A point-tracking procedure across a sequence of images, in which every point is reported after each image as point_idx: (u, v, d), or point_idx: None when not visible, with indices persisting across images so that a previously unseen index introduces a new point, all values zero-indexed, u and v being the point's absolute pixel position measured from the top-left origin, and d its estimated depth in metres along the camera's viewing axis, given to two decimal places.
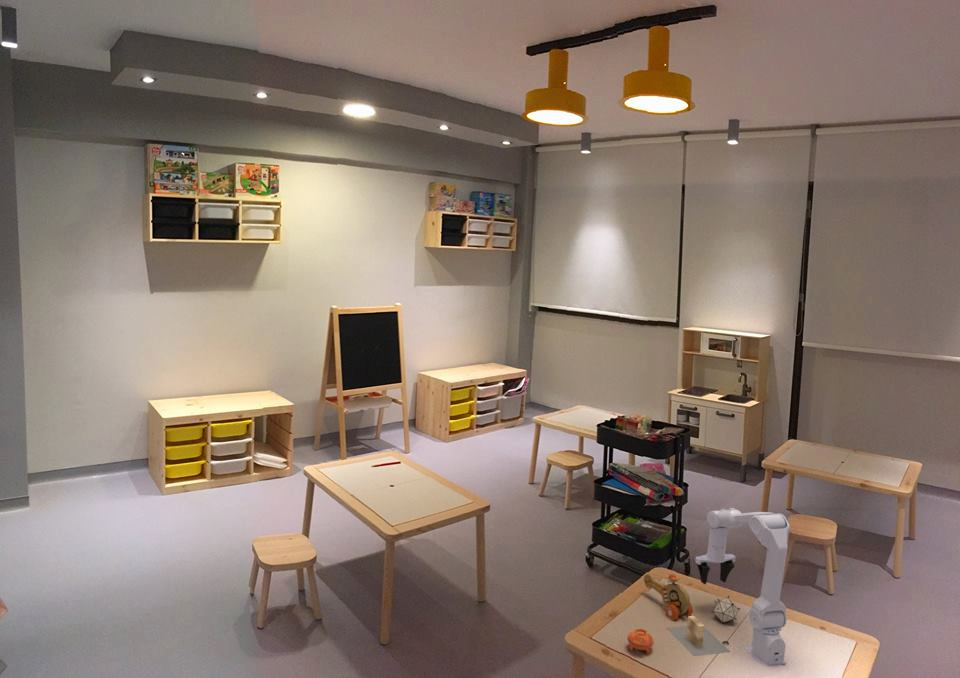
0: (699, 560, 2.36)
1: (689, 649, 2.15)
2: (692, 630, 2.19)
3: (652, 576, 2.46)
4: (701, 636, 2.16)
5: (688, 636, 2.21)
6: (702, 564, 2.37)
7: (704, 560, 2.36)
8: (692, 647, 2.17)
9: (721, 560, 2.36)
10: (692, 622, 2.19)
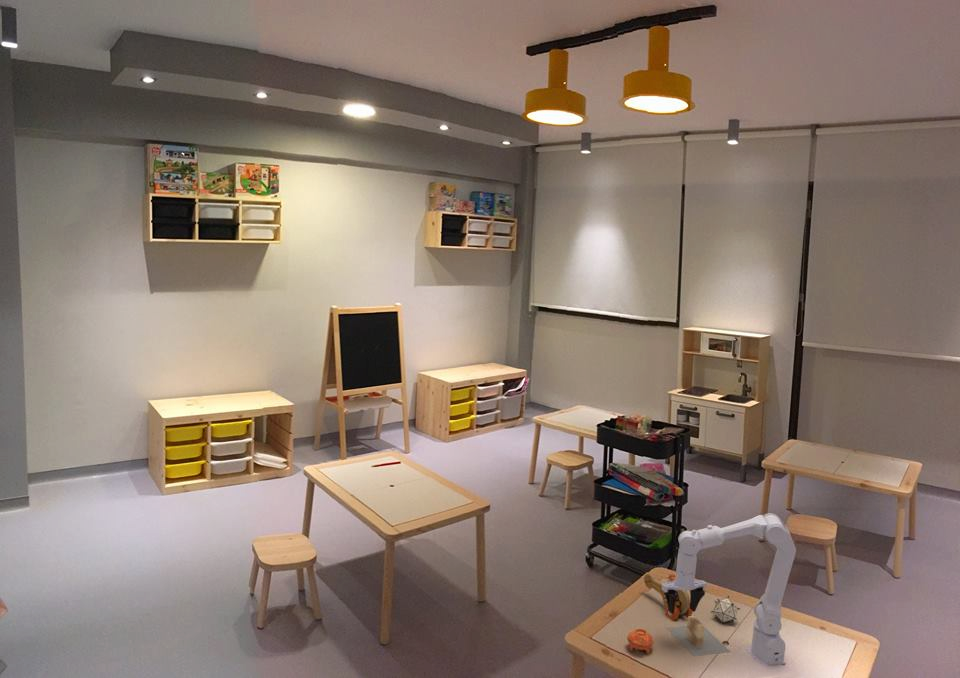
0: (666, 587, 2.15)
1: (689, 649, 2.15)
2: (692, 630, 2.19)
3: (652, 576, 2.47)
4: (701, 636, 2.16)
5: (688, 636, 2.21)
6: (669, 592, 2.15)
7: (671, 587, 2.15)
8: (692, 647, 2.17)
9: (690, 587, 2.15)
10: (692, 622, 2.19)
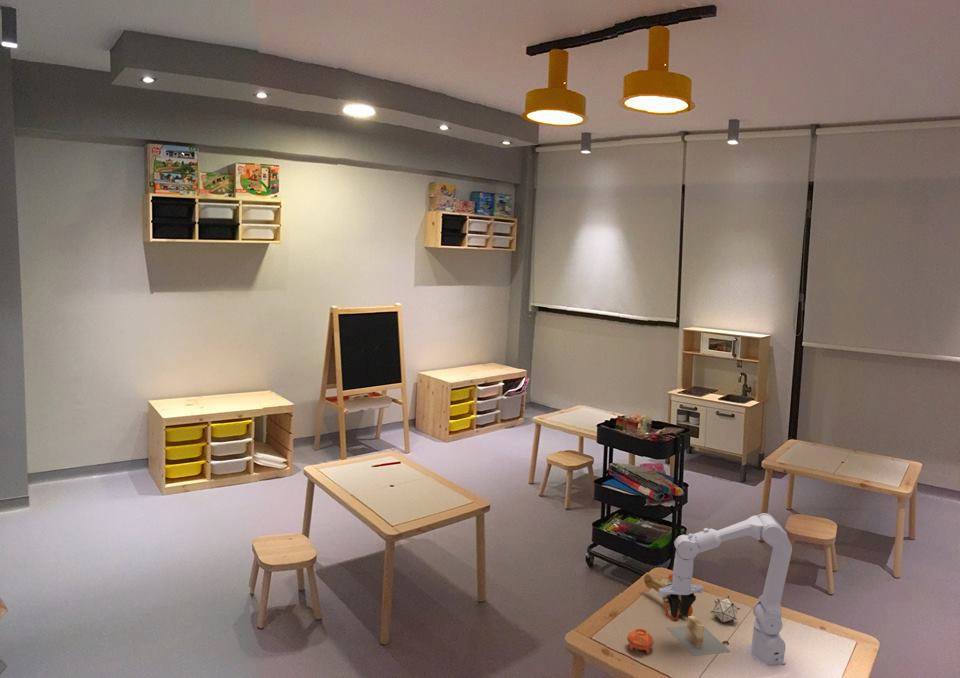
0: (662, 592, 2.13)
1: (689, 649, 2.15)
2: (692, 630, 2.19)
3: (652, 576, 2.47)
4: (701, 636, 2.16)
5: (688, 636, 2.21)
6: (672, 596, 2.14)
7: (668, 592, 2.13)
8: (692, 647, 2.17)
9: (687, 592, 2.13)
10: (692, 622, 2.19)
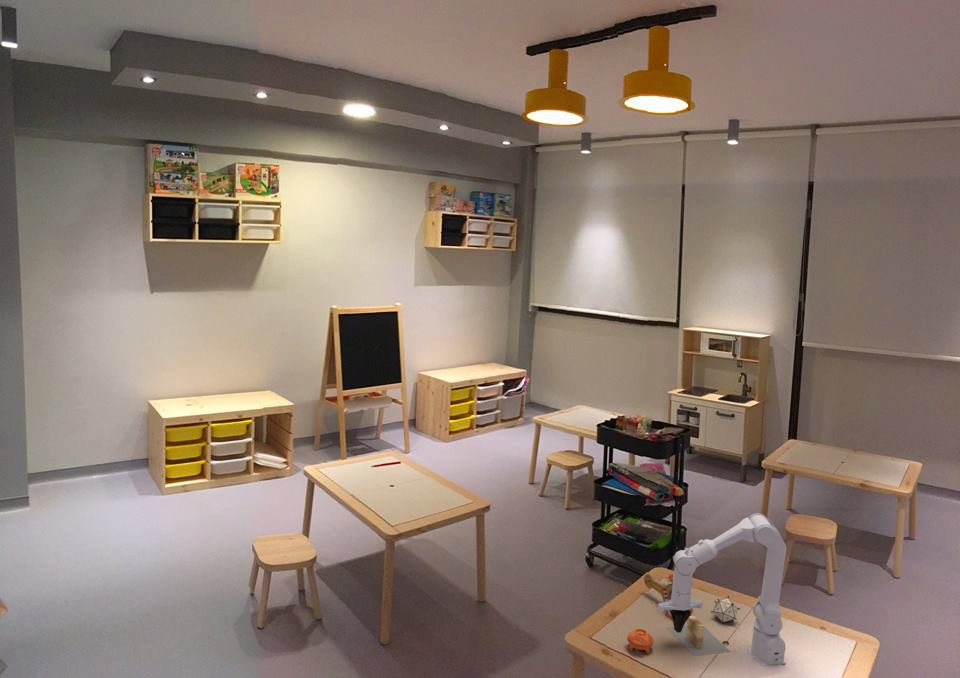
0: (661, 607, 2.13)
1: (689, 649, 2.15)
2: (692, 630, 2.19)
3: (652, 576, 2.47)
4: (701, 636, 2.16)
5: (688, 636, 2.21)
6: (675, 611, 2.15)
7: (667, 607, 2.13)
8: (692, 647, 2.17)
9: (686, 607, 2.13)
10: (692, 622, 2.19)
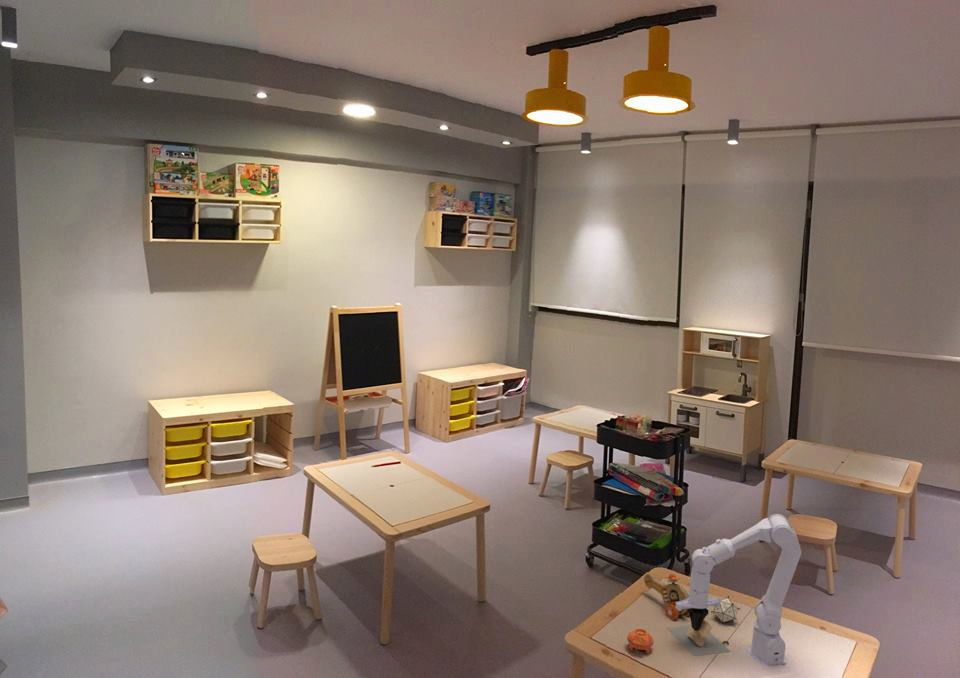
0: (679, 606, 2.15)
1: (689, 649, 2.15)
2: None
3: (652, 576, 2.47)
4: (705, 636, 2.17)
5: (690, 633, 2.21)
6: (693, 609, 2.17)
7: (685, 606, 2.15)
8: (692, 647, 2.17)
9: (704, 606, 2.15)
10: None
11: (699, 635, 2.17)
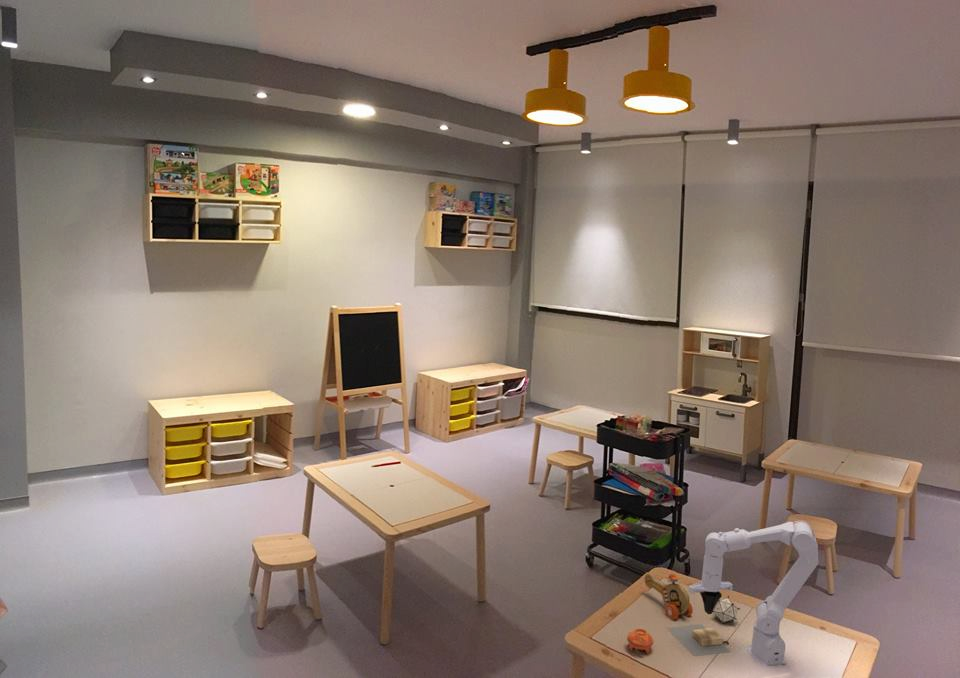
0: (693, 589, 2.15)
1: (689, 649, 2.15)
2: (708, 633, 2.21)
3: (653, 576, 2.47)
4: (712, 643, 2.18)
5: (697, 631, 2.21)
6: (706, 592, 2.17)
7: (698, 589, 2.16)
8: (692, 647, 2.17)
9: (717, 589, 2.15)
10: (714, 632, 2.22)
11: (708, 637, 2.18)
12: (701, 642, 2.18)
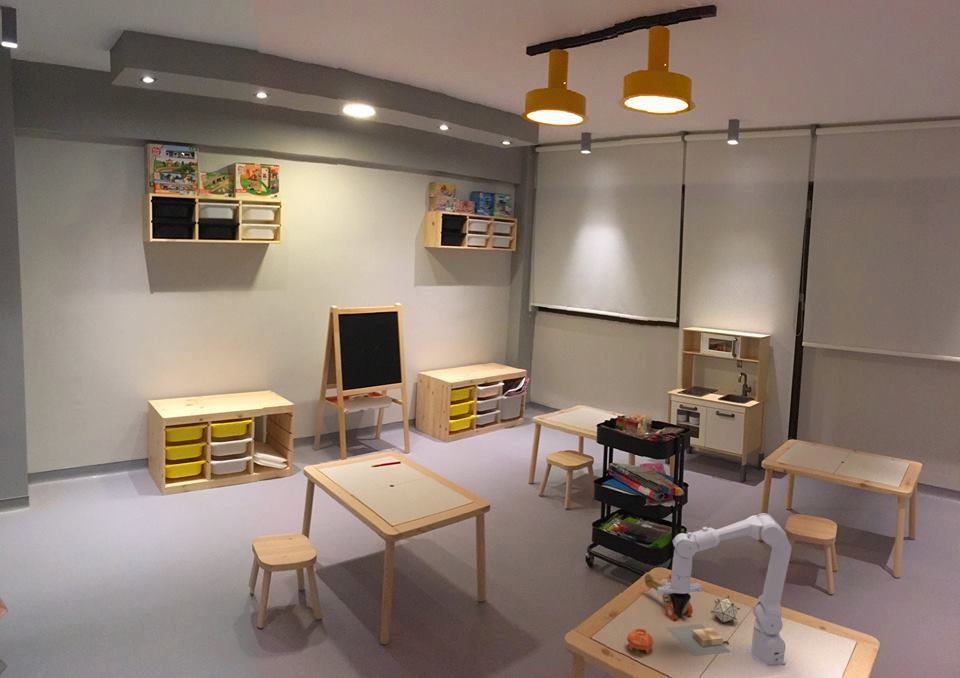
0: (661, 591, 2.12)
1: (689, 649, 2.15)
2: (708, 633, 2.21)
3: (653, 576, 2.47)
4: (712, 643, 2.18)
5: (697, 631, 2.21)
6: (675, 594, 2.14)
7: (667, 591, 2.13)
8: (692, 647, 2.17)
9: (685, 591, 2.12)
10: (714, 632, 2.22)
11: (708, 637, 2.18)
12: (701, 642, 2.18)
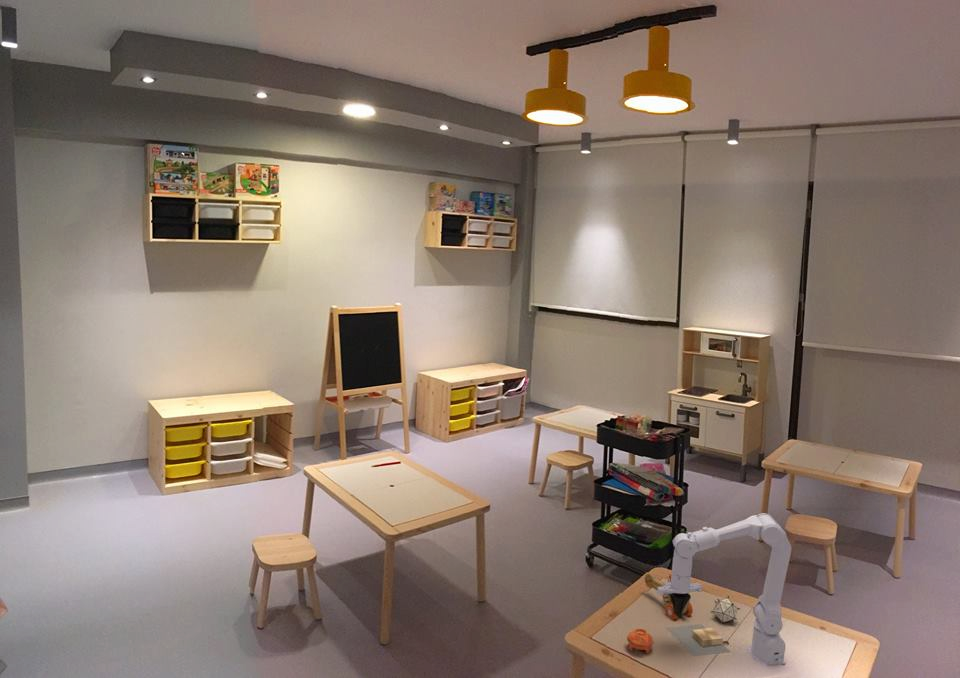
0: (661, 591, 2.12)
1: (689, 649, 2.15)
2: (708, 633, 2.21)
3: (653, 576, 2.47)
4: (712, 643, 2.18)
5: (697, 631, 2.21)
6: (675, 594, 2.14)
7: (667, 591, 2.13)
8: (692, 647, 2.17)
9: (685, 591, 2.12)
10: (714, 632, 2.22)
11: (708, 637, 2.18)
12: (701, 642, 2.18)
